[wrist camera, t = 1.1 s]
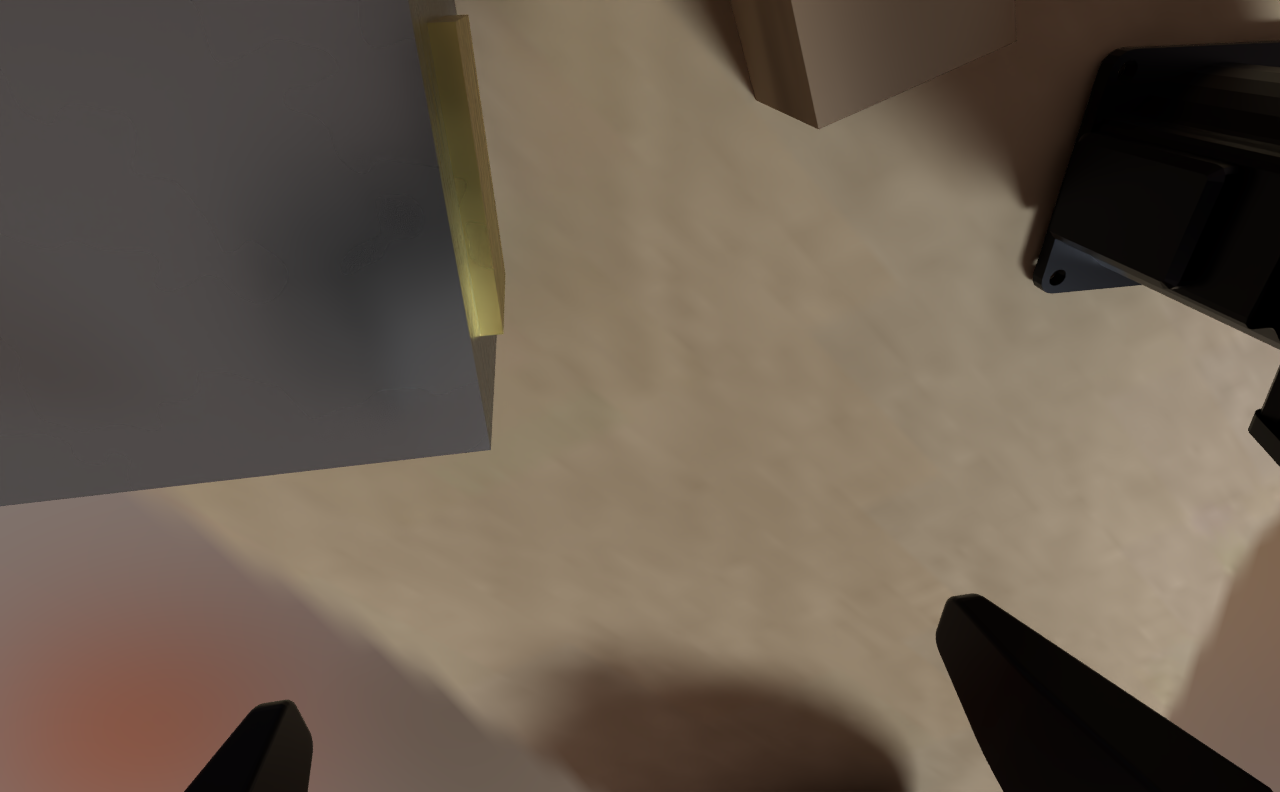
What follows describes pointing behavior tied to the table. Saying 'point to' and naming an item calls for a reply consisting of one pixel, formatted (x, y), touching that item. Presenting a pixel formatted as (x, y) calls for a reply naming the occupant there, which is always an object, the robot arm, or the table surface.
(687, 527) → the table surface
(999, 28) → the brown cube
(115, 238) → the block
